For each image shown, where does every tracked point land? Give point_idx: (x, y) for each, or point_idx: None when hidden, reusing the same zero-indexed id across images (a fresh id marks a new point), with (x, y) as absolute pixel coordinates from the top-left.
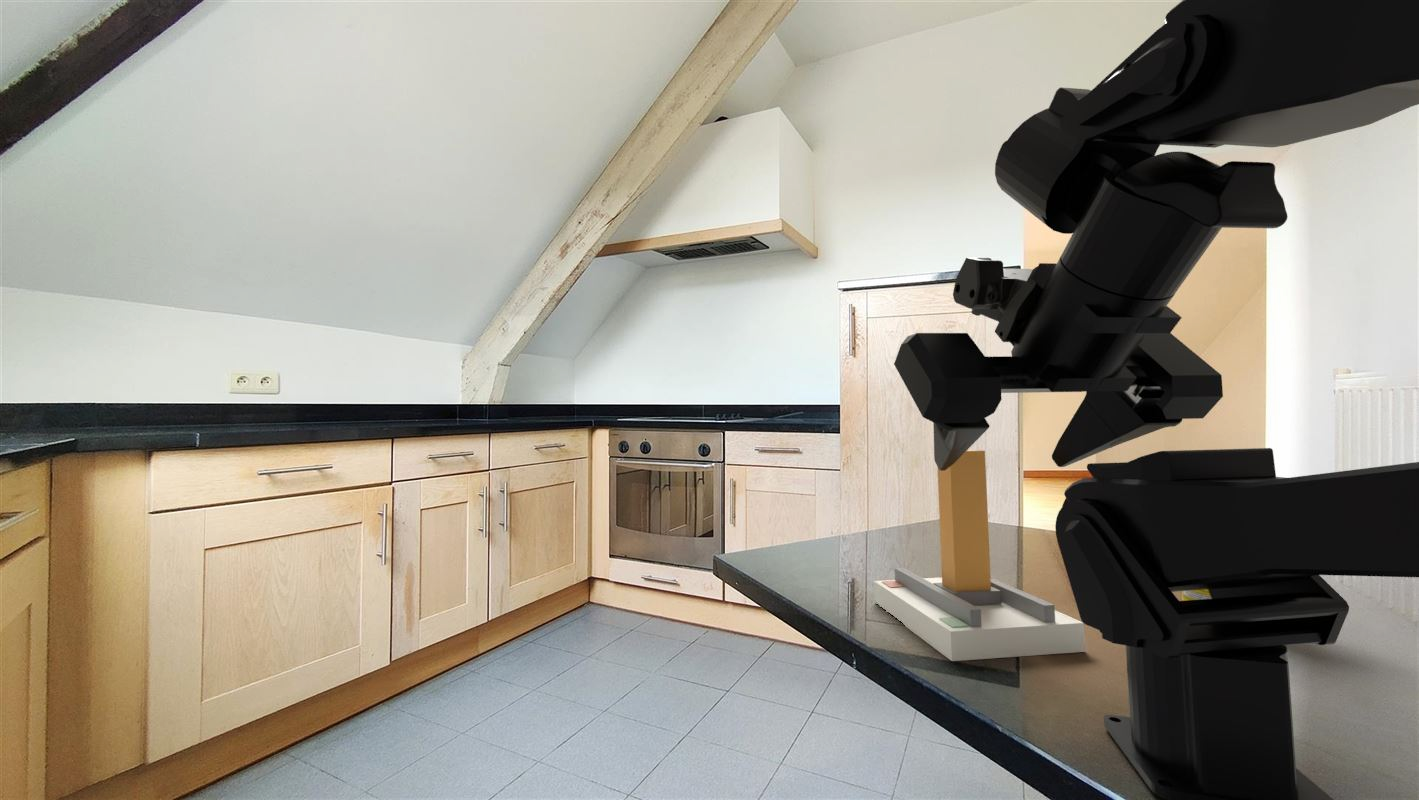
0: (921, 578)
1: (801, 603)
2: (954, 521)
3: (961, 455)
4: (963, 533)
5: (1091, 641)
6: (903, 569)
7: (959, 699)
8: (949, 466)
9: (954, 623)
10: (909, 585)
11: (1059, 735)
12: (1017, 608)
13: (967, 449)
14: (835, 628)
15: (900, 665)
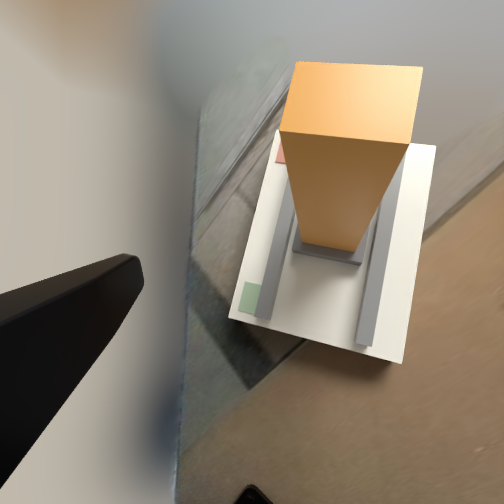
0: None
1: (204, 123)
2: (298, 210)
3: (74, 386)
4: (315, 220)
5: (433, 339)
6: None
7: (184, 383)
8: (127, 311)
9: (246, 303)
10: None
11: (206, 469)
12: (363, 289)
13: (40, 433)
14: (192, 202)
15: (187, 304)
